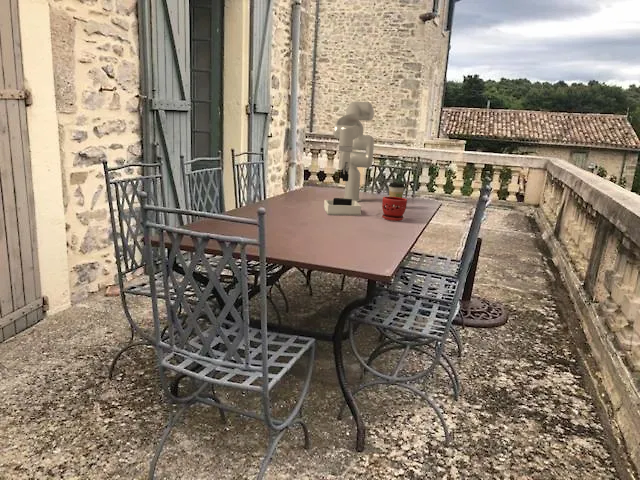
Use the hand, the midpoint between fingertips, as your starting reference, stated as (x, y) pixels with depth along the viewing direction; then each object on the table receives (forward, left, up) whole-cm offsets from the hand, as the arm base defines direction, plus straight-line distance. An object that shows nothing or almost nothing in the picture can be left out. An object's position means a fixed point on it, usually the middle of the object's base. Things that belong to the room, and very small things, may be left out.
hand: (343, 179), depth 273 cm
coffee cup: (-21, +37, -19) cm, 46 cm away
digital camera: (0, 0, -18) cm, 18 cm away
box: (0, 0, -19) cm, 19 cm away
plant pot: (+16, +26, -19) cm, 36 cm away
